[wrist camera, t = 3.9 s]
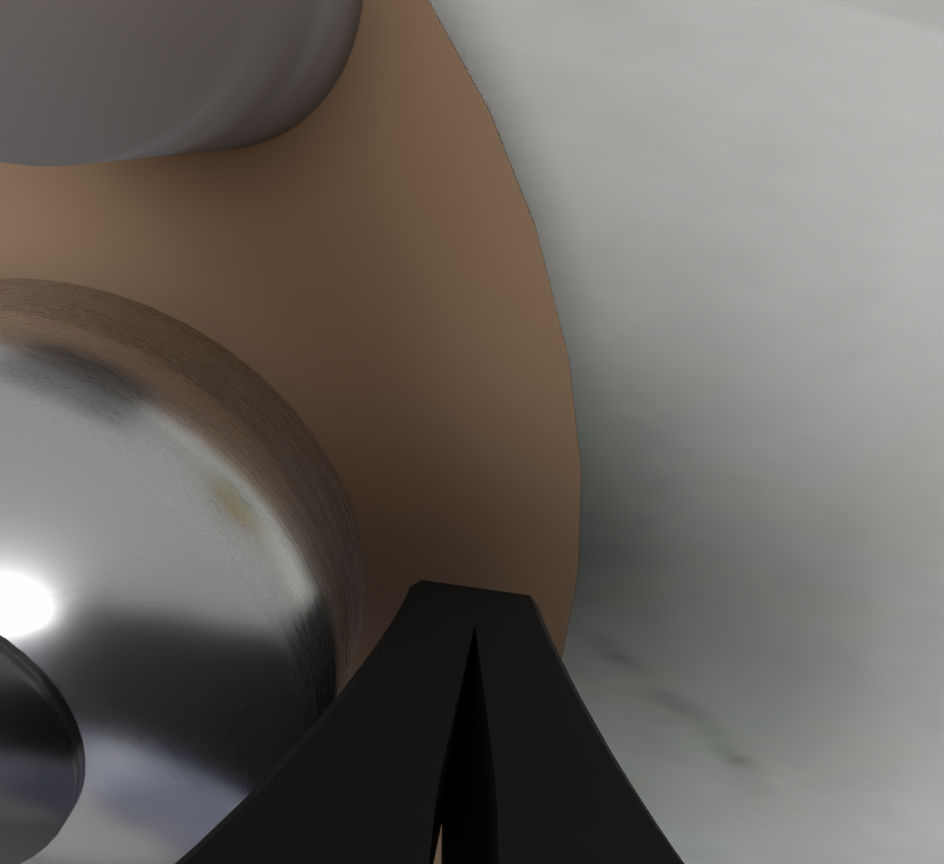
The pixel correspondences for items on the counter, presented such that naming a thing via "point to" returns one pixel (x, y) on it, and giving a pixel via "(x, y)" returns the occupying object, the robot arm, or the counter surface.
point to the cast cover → (154, 579)
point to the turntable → (317, 255)
